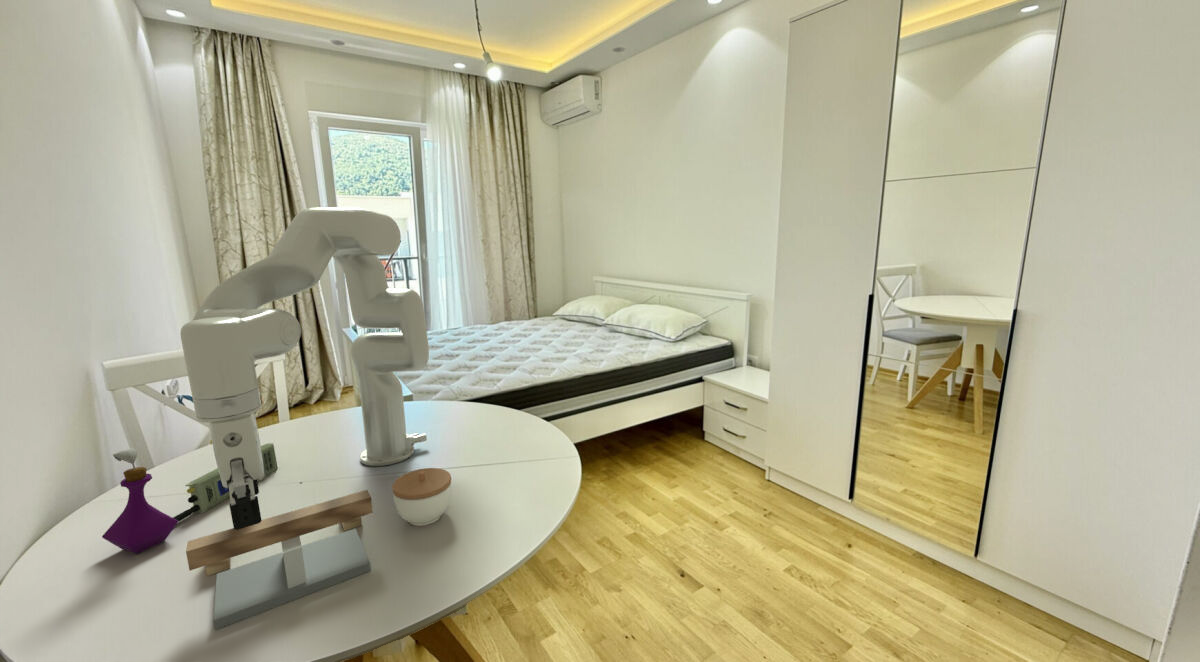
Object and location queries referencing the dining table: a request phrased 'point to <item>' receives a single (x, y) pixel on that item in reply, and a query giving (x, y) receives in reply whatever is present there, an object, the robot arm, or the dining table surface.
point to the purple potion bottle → (138, 513)
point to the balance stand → (287, 576)
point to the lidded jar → (422, 495)
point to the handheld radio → (219, 485)
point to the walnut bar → (276, 529)
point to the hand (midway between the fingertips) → (247, 510)
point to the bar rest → (227, 562)
